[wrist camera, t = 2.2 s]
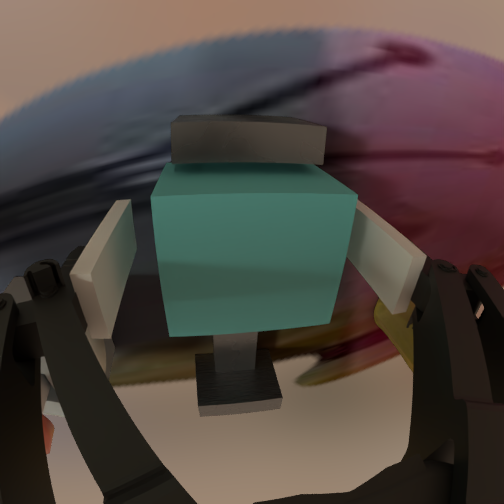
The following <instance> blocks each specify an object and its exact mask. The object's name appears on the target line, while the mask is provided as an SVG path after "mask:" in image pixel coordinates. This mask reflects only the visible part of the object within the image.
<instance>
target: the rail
mask: <svg viewBox="0 0 504 504" xmlns="http://www.w3.org/2000/svg"><path fill="white" fill-rule="evenodd" d="M326 132H327V127H325V126H322V125H318V124H315V123H311V122H307V121H303V120H300V119H296V118H292V117H280V116H262V115H181V116H179V117H177V118H176V119H175V120H174V121H172V122H171V158H172V164H187V163H227V162H256V163H296V164H317V165H323V160H324V151H325V142H326ZM257 335H258V332H247V333H234V334H220V335H212V336H213V352H214V353H213V354H195V363H196V382H197V397H198V408H199V413H200V416H218V415H230V414H241V413H250V412H258V411H266V410H273V409H279V408H280V406H281V402H282V398H283V397H282V394H281V390H280V387H279V384H278V380H277V377H276V373H275V370H274V366H273V363H272V359H271V356H270V353H269V349H262V350H256V348H257Z"/></svg>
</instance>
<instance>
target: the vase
mask: <svg viewBox="0 0 504 504" xmlns="http://www.w3.org/2000/svg"><path fill="white" fill-rule="evenodd" d="M414 307H415V304H414V303H413V302H412V301H410V303H409V306H408V308H407V310H406V312H403V313H398V314H393V315H392V314H391V312H390V311H389V310H388V308H387V307H386V306H385V304H384V303H383V302H382V300H381V299H380V298H379V299H378V301H377V303H376V306H375V309H374V319H375V323H376V324H377V326H378V327H380V328H381V329H382V330H383V331H384V332H385V334H386V335H387V336H388V337H389V339H390V340H391V342H392V343H393V344H394V346H395V347H396V348H397V350H398V351H399V353H400V354H401V356H402V357H403V359H404V360H405V362H406V363H407V365H408V366H409V368H410V369H411V370H412V372H413V329H412V327H413V323H412V324H410V326H409V328H406V326H407V323H408V321H409V319H410V317H411V314H412V312H413V310H414Z"/></svg>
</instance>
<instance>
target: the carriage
mask: <svg viewBox="0 0 504 504" xmlns="http://www.w3.org/2000/svg"><path fill="white" fill-rule="evenodd" d="M357 199H358V194H356V193H355V192H353V191H352V190H351V189H349V188H348V187H346V186H345V185H343V184H342V183H341V182H339V181H338V180H336V179H335V178H333V177H332V176H330V175H329V174H327V173H326V172H324V171H323V170H321V169H320V168H318V167H317V166H315V165H314V164H296V163H256V162H227V163H187V164H172V162H170V163H166V165H165V167H164V169H163V171H162V173H161V175H160V177H159V179H158V182H157V184H156V186H155V188H154V190H153V192H152V195H151V208H152V218H153V228H154V237H155V246H156V254H157V262H158V269H159V276H160V283H161V290H162V296H163V302H164V308H165V314H166V320H167V325H168V331H169V336H170V337H181V336H203V335H220V334H234V333H247V332H258V331H269V330H279V329H288V328H297V327H306V326H314V325H321V324H329V323H330V320H331V316H332V312H333V308H334V305H335V301H336V297H337V293H338V289H339V285H340V281H341V277H342V272H343V268H344V264H345V259H346V255H347V250H348V245H349V241H350V236H351V231H352V226H353V221H354V215H355V210H356V205H357Z"/></svg>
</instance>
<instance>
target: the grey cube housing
mask: <svg viewBox="0 0 504 504" xmlns="http://www.w3.org/2000/svg"><path fill="white" fill-rule="evenodd" d="M3 293H9V294H11V295H12V296H13V298H14V300H15V302H16V304H17V303H21V302H25V301H29V300H32V298H31V295H30V293H29V290H28V288H27V285H26V282H25V280H24V277H14V278H13V280H12V281H11V282H10V284H9V285H8V287H7V288H6V289H5V291H4V292H3ZM85 334H86V336H87V338H88V341H89V343H90V345H91V347H92V349H93V351H94V353H95V355H96V357H97V359H98V361H99V363H100V365H101V367H102V369H103V371H104V373H105V375H106V376H107V378H108V380H109V376H110V371H111V365H112V360H113V355H114V351H115V346H114V343H113V340H112V338H111V339H99V338H92V337H91V335H90V332H89V330H88V327H87V329H86V332H85ZM41 374H45V376H46V377H47V379H48V380H49V382H50V383H51V386H50V390H49V393H48V396H47V400H46V404H45V407H44V411H43V414H48V415H54V416H60V417H65V416H64V413H63V411H62V408H61V405H60V403H59V400H58V397H57V394H56V392H55V389H54V386H53V383H52V380H51V376H50V373H49V370H48V367H47V363H46V360H45V357H41Z"/></svg>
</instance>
